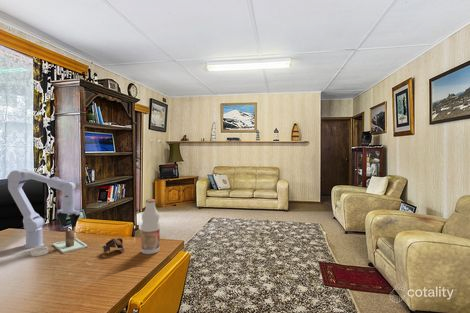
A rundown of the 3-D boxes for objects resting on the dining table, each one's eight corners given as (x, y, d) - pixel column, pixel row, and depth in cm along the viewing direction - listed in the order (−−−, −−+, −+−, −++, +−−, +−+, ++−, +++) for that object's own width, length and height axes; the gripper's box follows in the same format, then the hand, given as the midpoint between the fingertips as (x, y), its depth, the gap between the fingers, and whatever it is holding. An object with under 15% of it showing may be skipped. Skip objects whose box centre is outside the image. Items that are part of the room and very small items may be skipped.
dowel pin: (64, 245, 144) (64, 231, 144) (71, 243, 148) (71, 230, 148) (67, 247, 142) (67, 233, 142) (75, 245, 146) (75, 231, 145)
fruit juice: (137, 251, 139) (138, 199, 139) (153, 246, 146) (153, 197, 146) (147, 256, 133) (147, 202, 133) (163, 251, 140) (163, 199, 140)
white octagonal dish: (29, 254, 134) (29, 249, 134) (45, 250, 140) (45, 245, 140) (32, 258, 129) (32, 253, 129) (49, 254, 135) (49, 249, 135)
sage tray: (52, 245, 146) (52, 243, 146) (76, 240, 155) (76, 238, 155) (62, 254, 135) (62, 251, 135) (87, 248, 144) (87, 245, 144)
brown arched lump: (121, 256, 133) (112, 244, 132) (106, 263, 135) (97, 251, 133) (130, 243, 145) (122, 231, 143) (116, 249, 146) (108, 238, 145)
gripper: (52, 203, 148) (52, 226, 148) (72, 205, 144) (72, 229, 144) (63, 201, 154) (63, 223, 155) (82, 202, 150) (82, 225, 150)
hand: (68, 226), depth 150 cm, fingers open, 7 cm apart
